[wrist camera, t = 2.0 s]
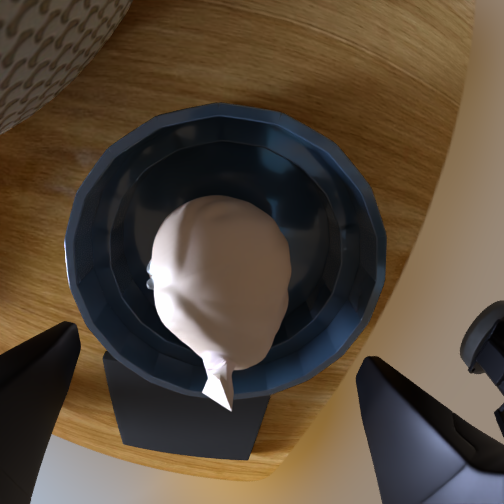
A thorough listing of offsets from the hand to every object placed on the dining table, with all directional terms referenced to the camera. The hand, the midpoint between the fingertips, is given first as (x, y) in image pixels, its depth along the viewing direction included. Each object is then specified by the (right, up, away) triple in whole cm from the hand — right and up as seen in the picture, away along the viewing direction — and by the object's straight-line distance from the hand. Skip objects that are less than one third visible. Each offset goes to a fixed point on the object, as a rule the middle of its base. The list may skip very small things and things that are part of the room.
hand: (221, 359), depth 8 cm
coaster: (-4, -10, +13) cm, 17 cm away
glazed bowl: (0, +3, +8) cm, 9 cm away
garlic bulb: (0, +3, +8) cm, 9 cm away
